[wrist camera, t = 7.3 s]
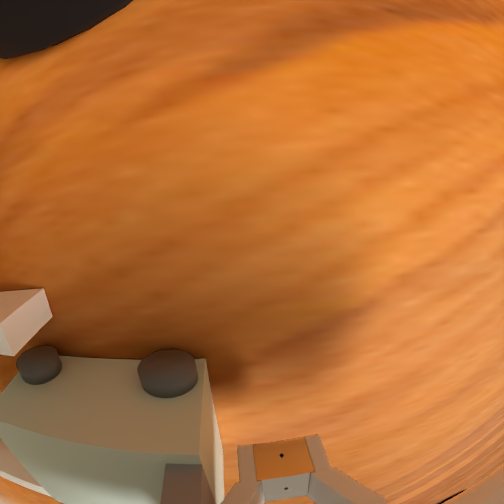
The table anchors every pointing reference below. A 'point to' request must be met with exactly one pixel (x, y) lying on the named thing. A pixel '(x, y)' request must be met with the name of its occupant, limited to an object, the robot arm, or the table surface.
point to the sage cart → (115, 428)
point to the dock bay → (10, 343)
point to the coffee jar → (48, 22)
